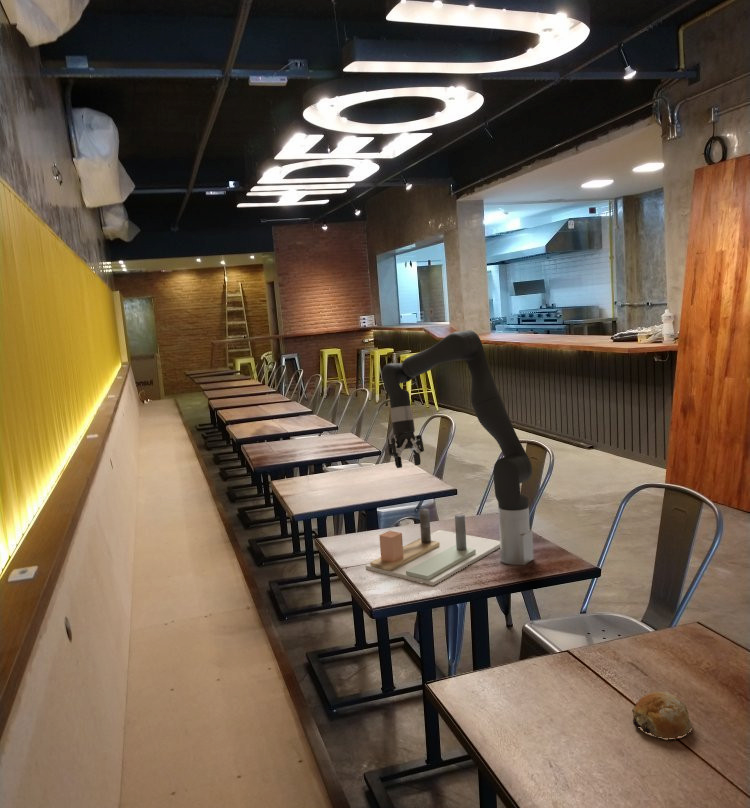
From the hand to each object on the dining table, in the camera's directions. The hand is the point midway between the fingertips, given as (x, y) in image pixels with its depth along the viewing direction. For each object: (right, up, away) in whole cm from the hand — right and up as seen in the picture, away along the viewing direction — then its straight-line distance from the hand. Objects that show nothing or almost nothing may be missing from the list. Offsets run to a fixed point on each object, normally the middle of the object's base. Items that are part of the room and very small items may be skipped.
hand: (408, 466), depth 245 cm
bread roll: (+42, -39, -112) cm, 126 cm away
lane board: (+8, -28, -17) cm, 33 cm away
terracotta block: (-6, -27, -23) cm, 36 cm away
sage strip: (+9, -28, -27) cm, 39 cm away
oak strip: (-2, -27, -18) cm, 32 cm away
